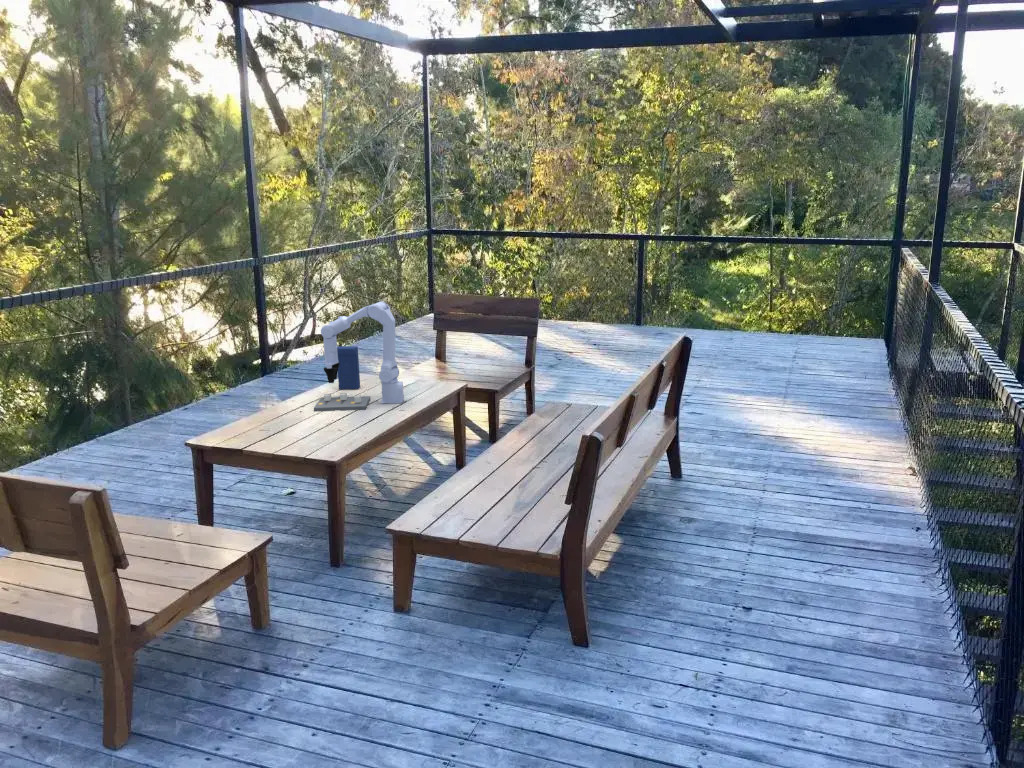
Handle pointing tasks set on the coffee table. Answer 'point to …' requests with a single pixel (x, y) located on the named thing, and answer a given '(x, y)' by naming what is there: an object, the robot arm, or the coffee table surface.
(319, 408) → the switch panel
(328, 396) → the switch
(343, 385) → the electronic device
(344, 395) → the switch
